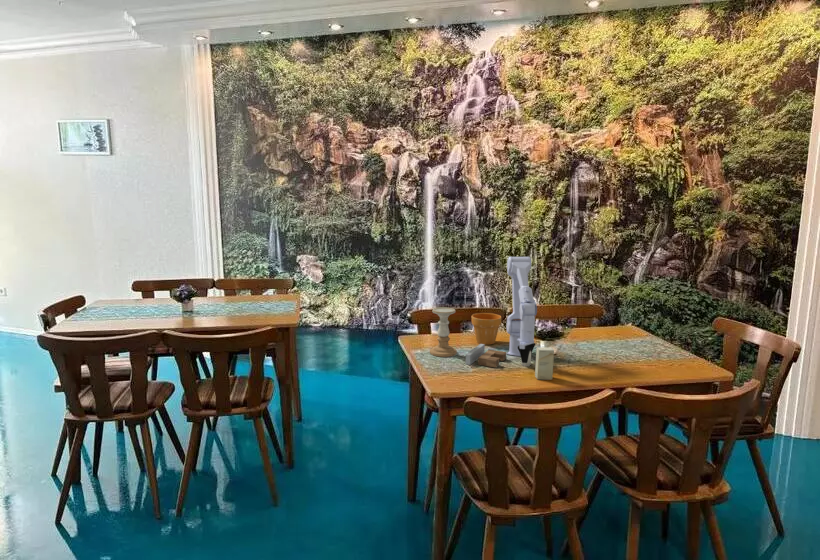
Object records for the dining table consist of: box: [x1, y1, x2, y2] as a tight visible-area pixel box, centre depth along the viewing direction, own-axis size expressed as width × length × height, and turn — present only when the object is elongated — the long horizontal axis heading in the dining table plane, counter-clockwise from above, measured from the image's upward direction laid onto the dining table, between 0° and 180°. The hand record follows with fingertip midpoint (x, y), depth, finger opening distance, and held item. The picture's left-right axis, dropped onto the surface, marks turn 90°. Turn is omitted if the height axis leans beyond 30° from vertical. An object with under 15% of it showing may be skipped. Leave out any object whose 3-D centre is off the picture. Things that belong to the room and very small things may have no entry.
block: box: [477, 349, 507, 368], centre depth 256 cm, size 14×8×3 cm, turn 153°
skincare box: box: [534, 346, 555, 381], centre depth 235 cm, size 6×4×12 cm
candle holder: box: [429, 306, 458, 358], centre depth 267 cm, size 12×12×20 cm
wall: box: [465, 343, 486, 366], centre depth 260 cm, size 18×2×4 cm, turn 153°
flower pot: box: [471, 312, 502, 346], centre depth 285 cm, size 14×14×13 cm
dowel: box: [520, 351, 532, 367], centre depth 252 cm, size 4×4×6 cm
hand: (526, 361), depth 252 cm, fingers closed on dowel, 4 cm apart
